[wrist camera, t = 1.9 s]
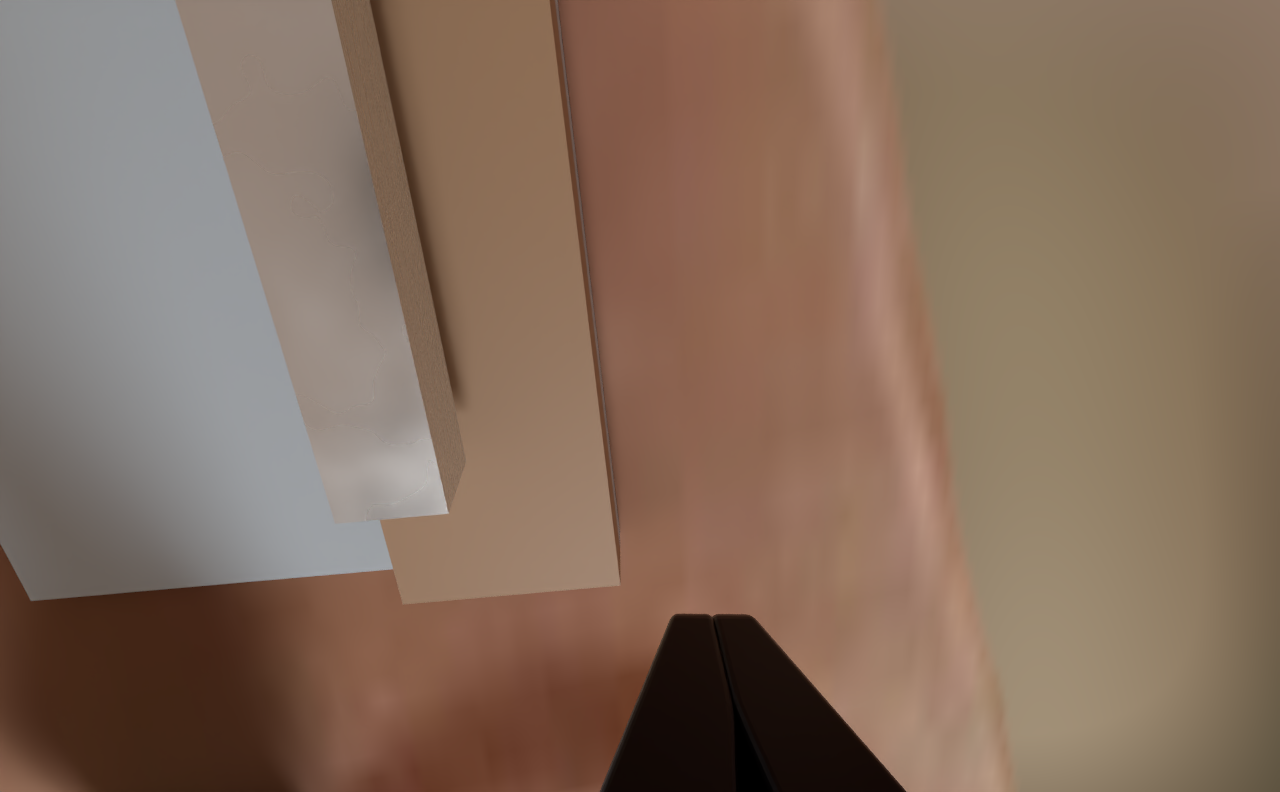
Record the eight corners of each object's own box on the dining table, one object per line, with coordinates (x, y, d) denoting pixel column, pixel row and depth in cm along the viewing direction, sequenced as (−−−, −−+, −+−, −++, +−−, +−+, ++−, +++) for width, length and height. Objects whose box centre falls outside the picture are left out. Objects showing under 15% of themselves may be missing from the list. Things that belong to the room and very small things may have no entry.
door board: (50, 581, 22) (-119, 750, 17) (-433, -357, 13) (-1076, -589, 8) (619, 531, 22) (621, 685, 17) (504, -452, 13) (435, -749, 8)
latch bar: (113, -310, 11) (-12, -394, 9) (335, -332, 11) (265, -421, 9) (341, 472, 17) (299, 541, 15) (489, 459, 17) (470, 526, 15)
